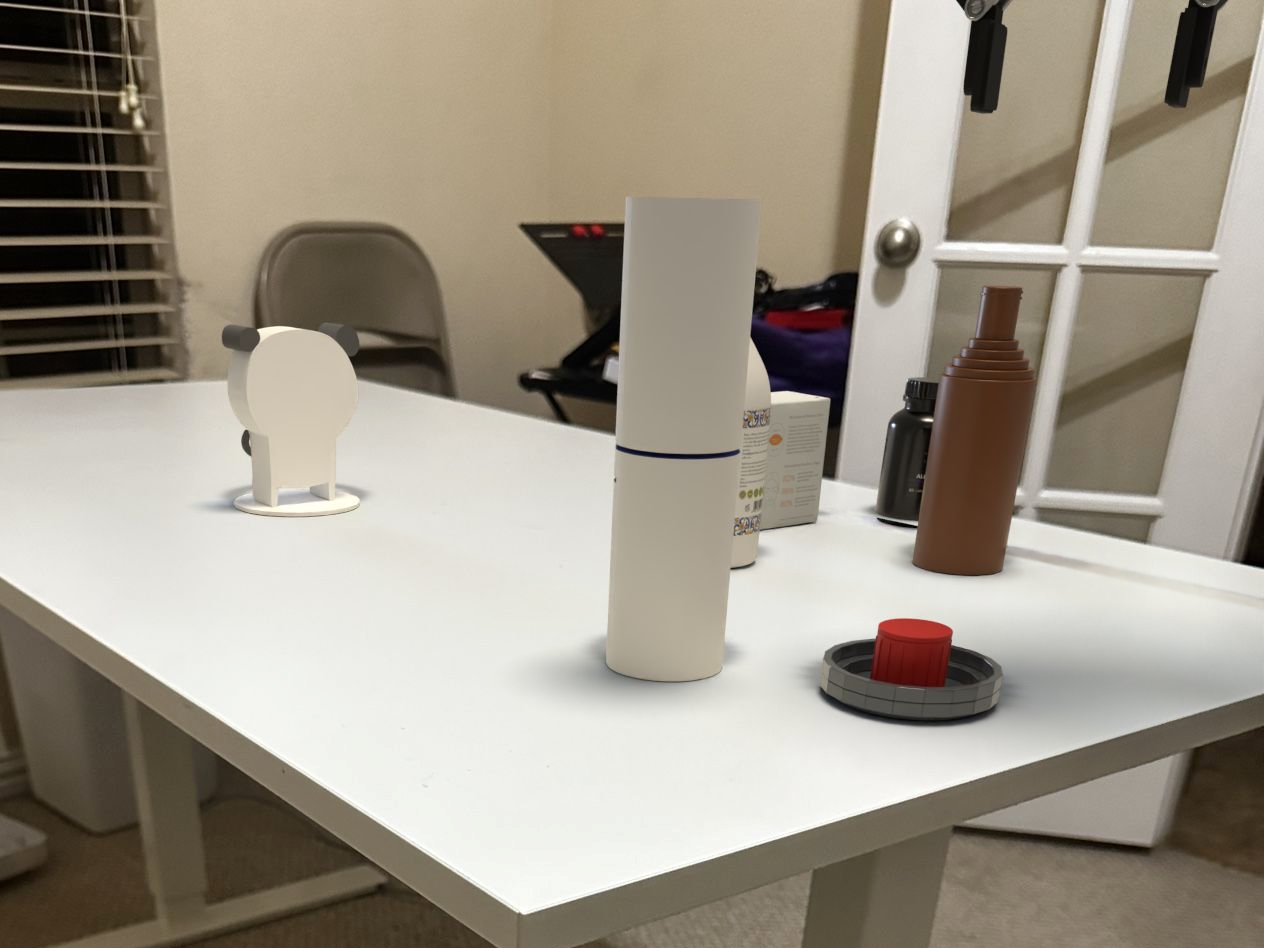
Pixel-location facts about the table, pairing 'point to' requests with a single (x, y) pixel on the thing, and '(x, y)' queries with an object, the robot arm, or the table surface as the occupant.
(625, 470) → the cylindrical container
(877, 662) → the cap
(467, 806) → the table surface
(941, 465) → the bottle
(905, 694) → the saucer
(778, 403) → the small box
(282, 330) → the panda figurine
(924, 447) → the supplement bottle
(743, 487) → the bath foam
